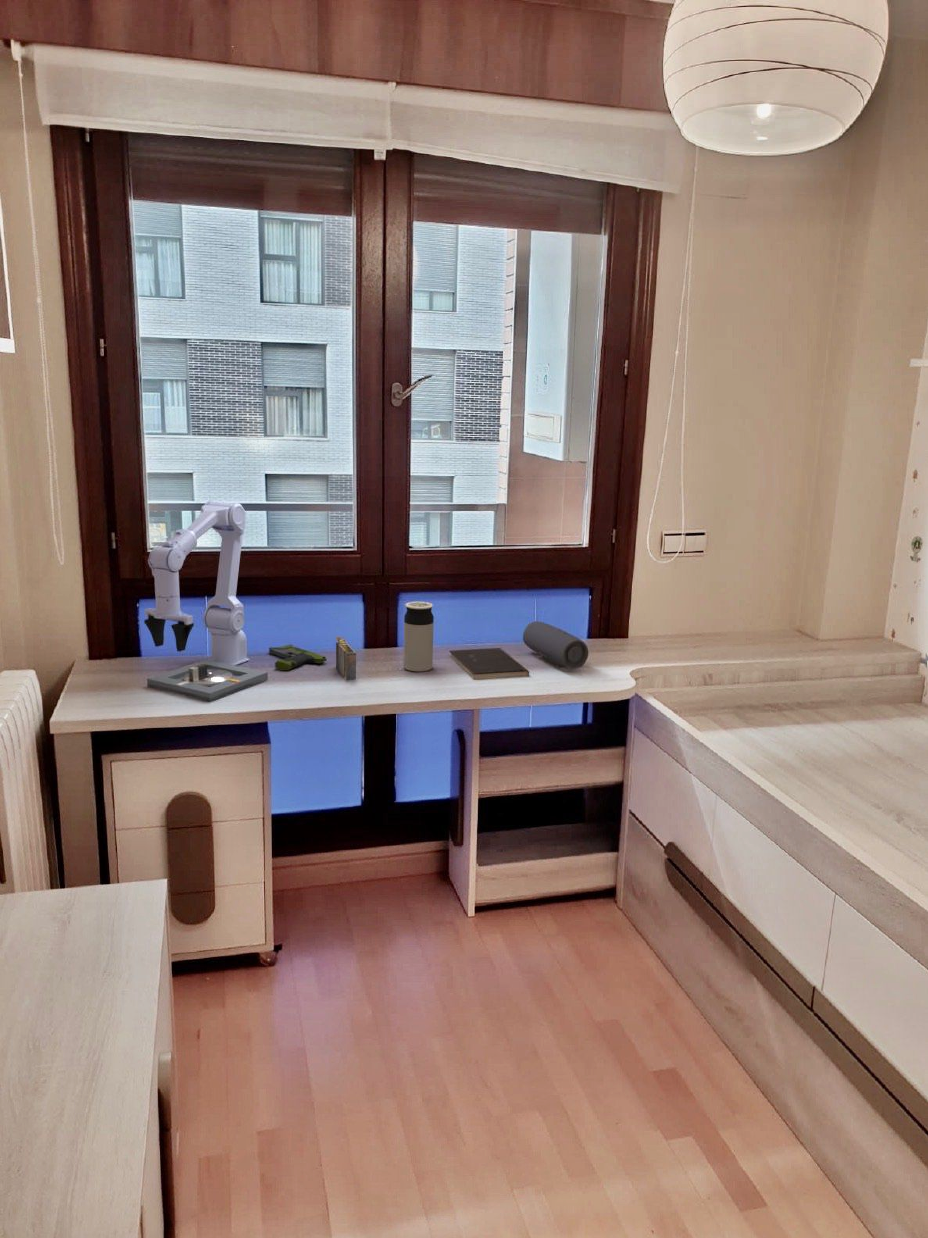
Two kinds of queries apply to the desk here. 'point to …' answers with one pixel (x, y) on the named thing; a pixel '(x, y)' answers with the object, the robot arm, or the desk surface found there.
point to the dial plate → (177, 685)
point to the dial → (207, 676)
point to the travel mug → (418, 636)
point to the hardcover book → (488, 663)
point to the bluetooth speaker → (555, 645)
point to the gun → (294, 657)
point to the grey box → (345, 659)
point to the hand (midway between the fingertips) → (170, 648)
